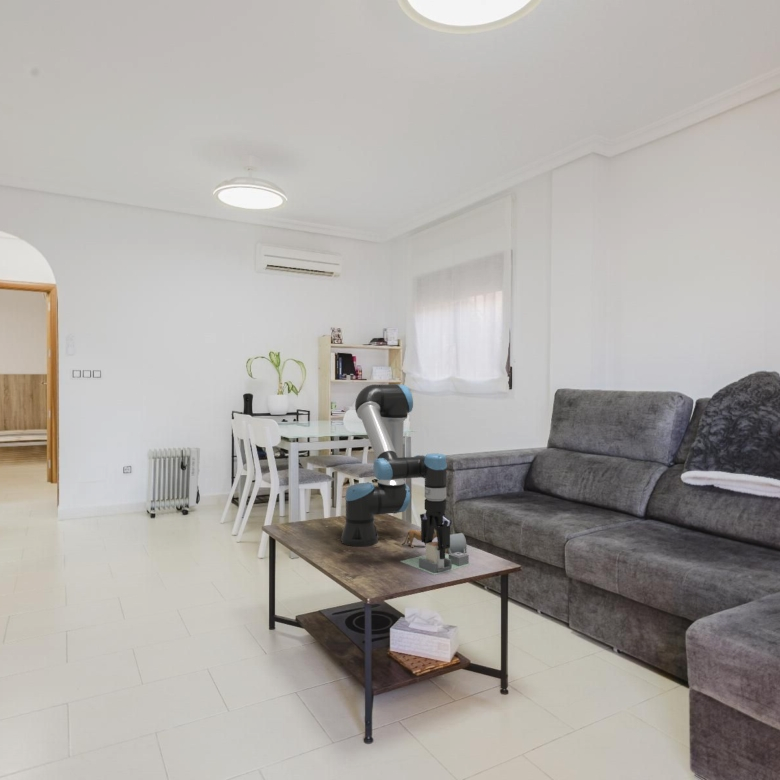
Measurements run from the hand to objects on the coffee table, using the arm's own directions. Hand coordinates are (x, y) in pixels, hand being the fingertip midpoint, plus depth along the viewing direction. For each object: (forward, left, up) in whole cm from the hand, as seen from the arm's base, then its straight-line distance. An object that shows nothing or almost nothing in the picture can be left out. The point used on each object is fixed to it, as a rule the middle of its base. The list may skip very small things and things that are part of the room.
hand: (435, 565), depth 194 cm
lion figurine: (-24, +16, -2) cm, 29 cm away
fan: (+2, +10, -1) cm, 10 cm away
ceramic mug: (-9, +19, -2) cm, 21 cm away
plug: (0, 0, 0) cm, 0 cm away
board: (-4, +4, -2) cm, 6 cm away
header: (0, 0, -1) cm, 1 cm away
